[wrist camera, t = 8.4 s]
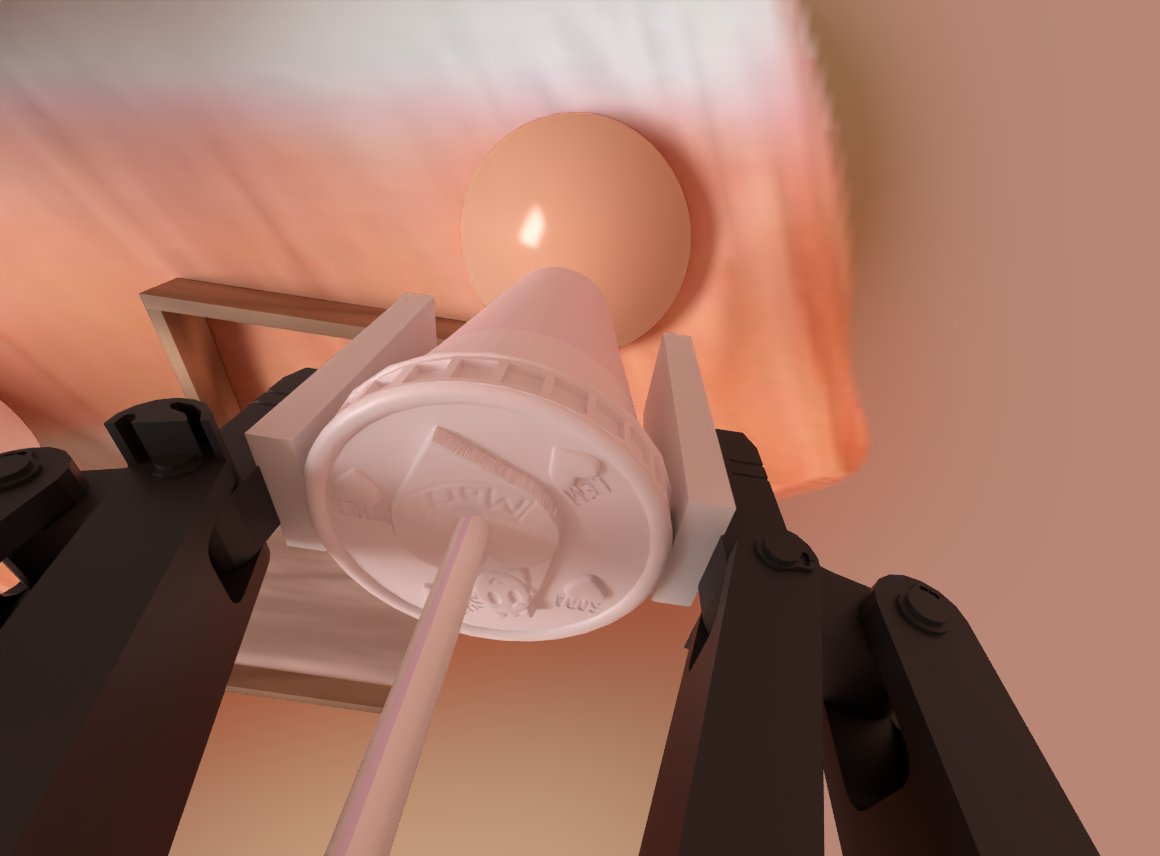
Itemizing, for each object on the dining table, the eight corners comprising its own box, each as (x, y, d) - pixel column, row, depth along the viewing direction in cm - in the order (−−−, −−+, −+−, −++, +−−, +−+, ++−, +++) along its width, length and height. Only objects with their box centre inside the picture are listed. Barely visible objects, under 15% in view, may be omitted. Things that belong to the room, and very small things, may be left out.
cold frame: (173, 277, 26) (-216, 432, 14) (498, 326, 26) (392, 522, 14) (255, 481, 35) (64, 680, 23) (494, 517, 35) (427, 732, 23)
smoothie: (639, 202, 13) (712, 789, 2) (660, 390, 17) (728, 985, 6) (435, 241, 14) (-265, 762, 3) (495, 410, 18) (272, 938, 7)
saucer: (465, 93, 20) (456, 93, 19) (717, 133, 20) (722, 135, 19) (469, 330, 26) (463, 339, 25) (659, 359, 26) (661, 369, 25)
